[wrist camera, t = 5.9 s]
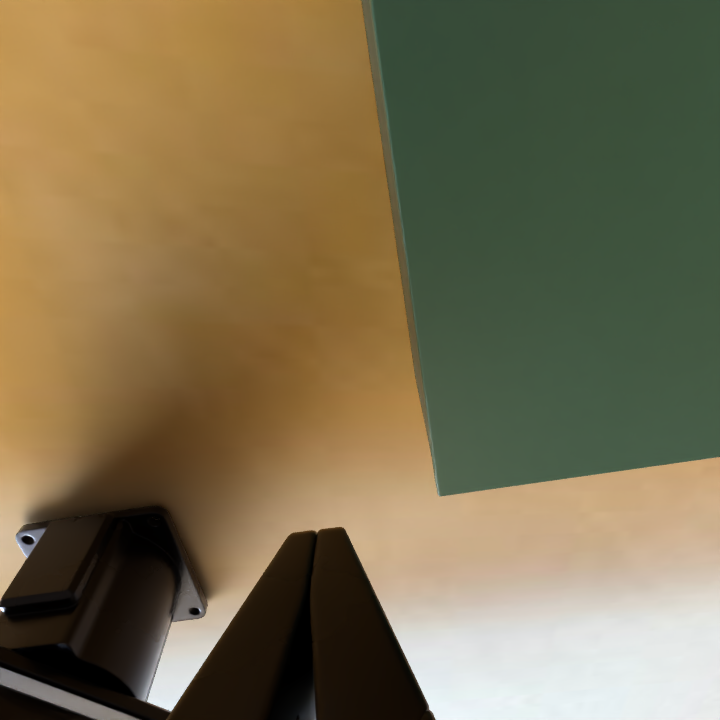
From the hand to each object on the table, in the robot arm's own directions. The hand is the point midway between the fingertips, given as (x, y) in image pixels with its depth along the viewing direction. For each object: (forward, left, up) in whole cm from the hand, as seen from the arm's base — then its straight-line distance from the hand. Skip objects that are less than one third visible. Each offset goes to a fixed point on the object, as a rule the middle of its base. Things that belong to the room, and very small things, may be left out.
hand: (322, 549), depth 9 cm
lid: (+2, -8, -7) cm, 11 cm away
